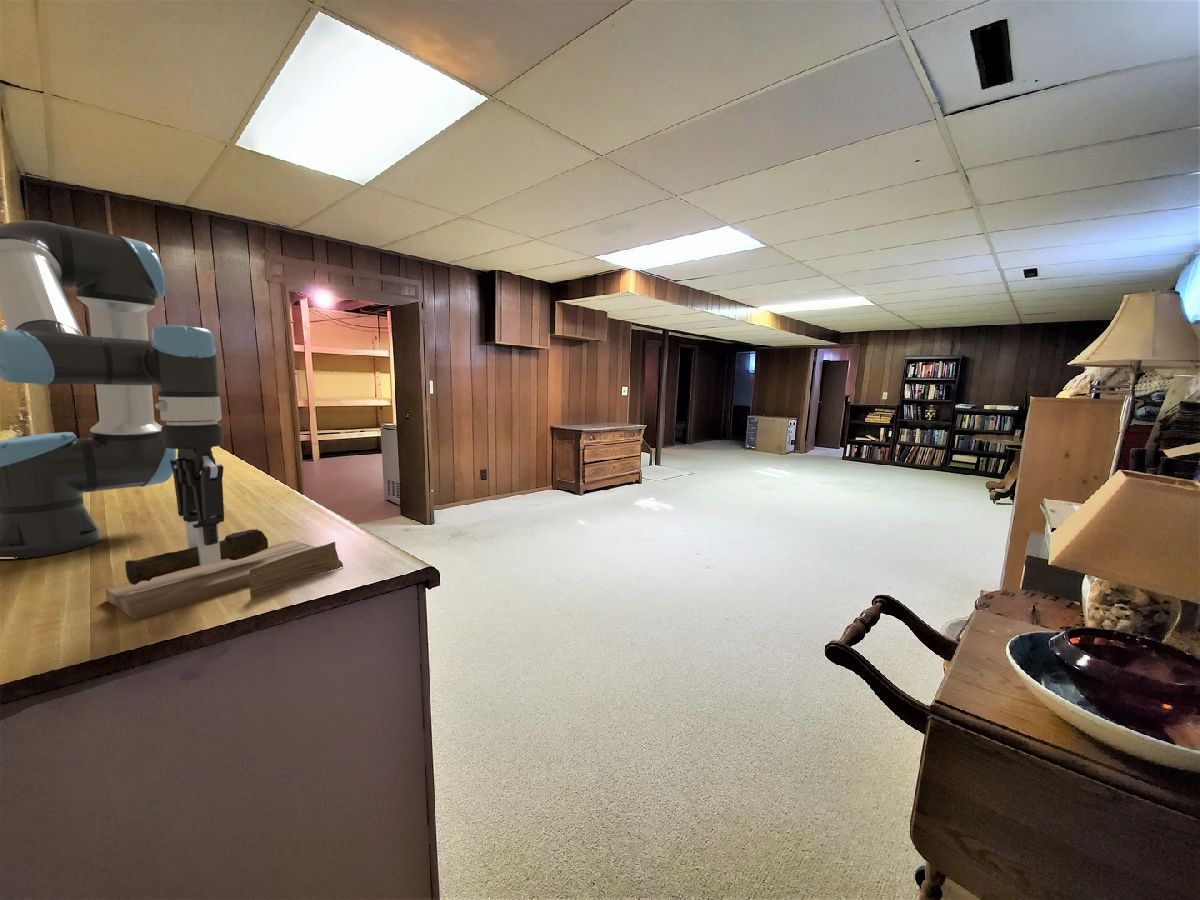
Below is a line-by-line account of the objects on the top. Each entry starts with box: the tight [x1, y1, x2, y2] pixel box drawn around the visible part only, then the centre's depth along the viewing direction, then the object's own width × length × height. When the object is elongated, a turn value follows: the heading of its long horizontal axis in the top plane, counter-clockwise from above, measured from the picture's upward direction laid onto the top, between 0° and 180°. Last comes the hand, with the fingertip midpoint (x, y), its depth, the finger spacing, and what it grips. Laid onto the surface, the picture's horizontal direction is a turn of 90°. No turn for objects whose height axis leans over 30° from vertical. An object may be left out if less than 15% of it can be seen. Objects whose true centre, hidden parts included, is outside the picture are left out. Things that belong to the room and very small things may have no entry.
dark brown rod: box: [124, 528, 269, 585], centre depth 78 cm, size 19×4×5 cm, turn 147°
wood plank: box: [248, 541, 344, 599], centre depth 81 cm, size 15×2×5 cm, turn 156°
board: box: [105, 539, 316, 621], centre depth 82 cm, size 12×28×2 cm, turn 151°
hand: (205, 559), depth 79 cm, fingers closed on dark brown rod, 3 cm apart
